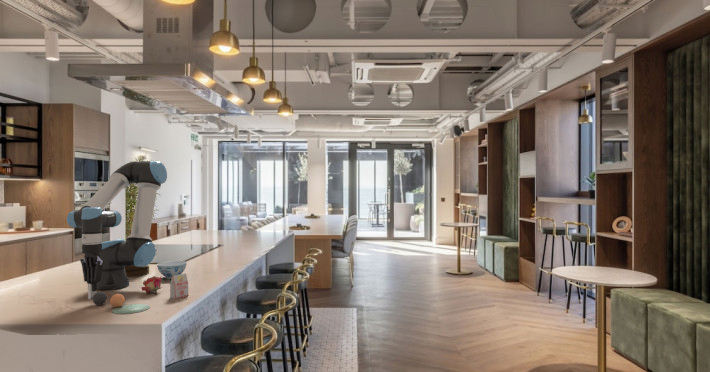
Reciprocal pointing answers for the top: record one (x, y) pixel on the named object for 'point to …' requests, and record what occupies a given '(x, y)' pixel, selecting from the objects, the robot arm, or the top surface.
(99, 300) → the dark grey ball
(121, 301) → the object ball
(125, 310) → the green plate
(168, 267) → the chinaware
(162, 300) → the top surface
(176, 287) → the white paper snack bag
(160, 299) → the top surface
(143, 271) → the wooden container
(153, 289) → the flower
